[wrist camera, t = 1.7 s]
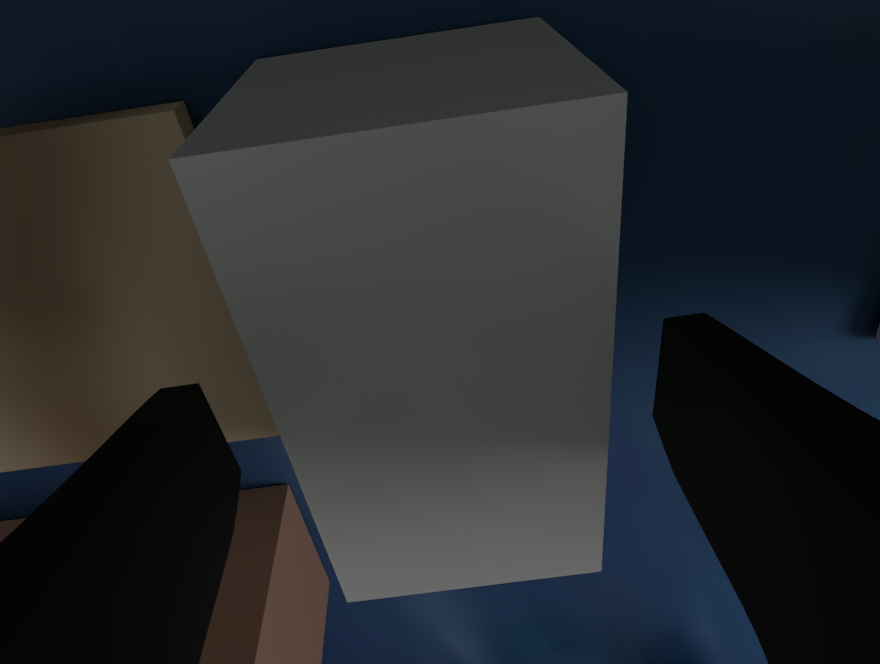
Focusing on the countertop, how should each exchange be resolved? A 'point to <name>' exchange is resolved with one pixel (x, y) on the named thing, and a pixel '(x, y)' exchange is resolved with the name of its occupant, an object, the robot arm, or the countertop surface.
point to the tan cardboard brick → (264, 586)
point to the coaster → (107, 289)
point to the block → (427, 293)
